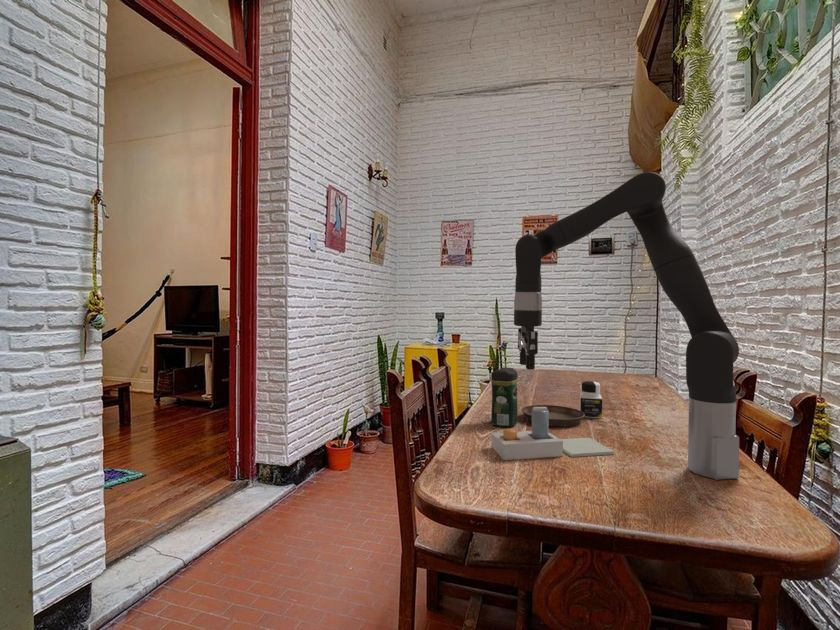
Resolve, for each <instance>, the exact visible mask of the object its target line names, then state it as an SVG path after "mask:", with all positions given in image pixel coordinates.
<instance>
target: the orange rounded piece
mask: <svg viewBox="0 0 840 630" xmlns="http://www.w3.org/2000/svg"><path fill="white" fill-rule="evenodd" d="M502 432H503V439H504V440H505V441H511V440H517V432H518V430H517V429H516V428H515V429H514V428H510V427H509V428H508V427H507V428H504V429H503V431H502Z"/></svg>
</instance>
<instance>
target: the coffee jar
mask: <svg viewBox="0 0 840 630" xmlns="http://www.w3.org/2000/svg"><path fill="white" fill-rule="evenodd" d="M490 376H491V377H490V379H491V380H490V381H491V424H492V425H493V426H495V427H498V426H499V428H508V427H509V428H512V427H513V426H515V425H516V424H517V423H518V421H519V420H518V419H519V418H518V417H519V415H518V411H519V410H518V371H517V370H515V368H514V367H503V366H502V367H501V368H499V369H496V370H494V371H492V372H491V375H490Z"/></svg>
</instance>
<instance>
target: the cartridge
mask: <svg viewBox="0 0 840 630" xmlns="http://www.w3.org/2000/svg"><path fill="white" fill-rule="evenodd" d="M549 429H550V428H549V411H548V410H547V407H533V409H532V421H531V431H532V438H533V439H535V440H539V439H549V433H550V431H549Z"/></svg>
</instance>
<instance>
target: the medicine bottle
mask: <svg viewBox="0 0 840 630" xmlns="http://www.w3.org/2000/svg"><path fill="white" fill-rule="evenodd" d="M578 396H579V401H578V402H579V409H578V410H579V411H582V412H583V413H584V414H585V415H584V417H583V418H588V419H590V418H591V419H603V400H604V399H603V397H602V395H601V383H599V382H597V381H592V380H589V381H588V380H586V381H583V382H581V392H580V393H579V395H578Z"/></svg>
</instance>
